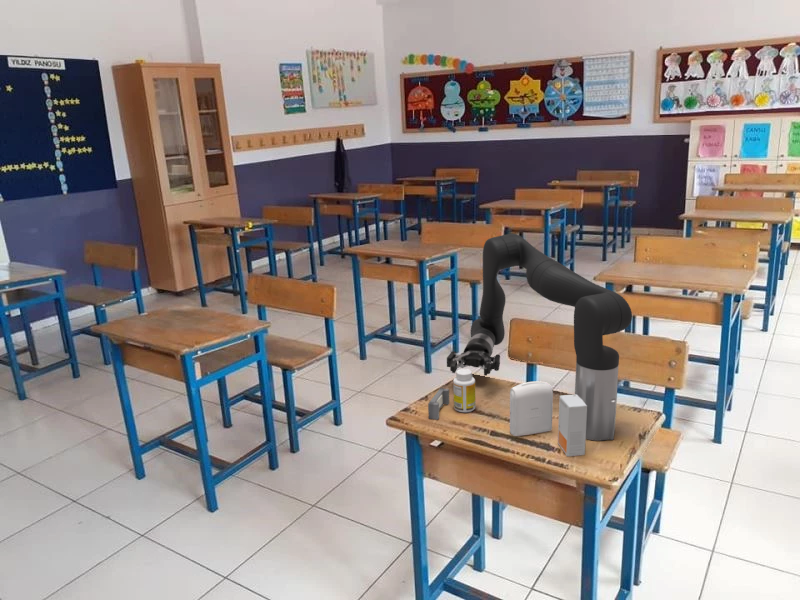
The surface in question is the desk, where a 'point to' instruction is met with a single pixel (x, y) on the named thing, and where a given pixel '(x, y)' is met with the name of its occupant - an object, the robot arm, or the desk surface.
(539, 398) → the photo printer
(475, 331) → the robot arm
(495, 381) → the desk surface
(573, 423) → the skincare box
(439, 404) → the grey bridge block
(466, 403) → the supplement bottle
